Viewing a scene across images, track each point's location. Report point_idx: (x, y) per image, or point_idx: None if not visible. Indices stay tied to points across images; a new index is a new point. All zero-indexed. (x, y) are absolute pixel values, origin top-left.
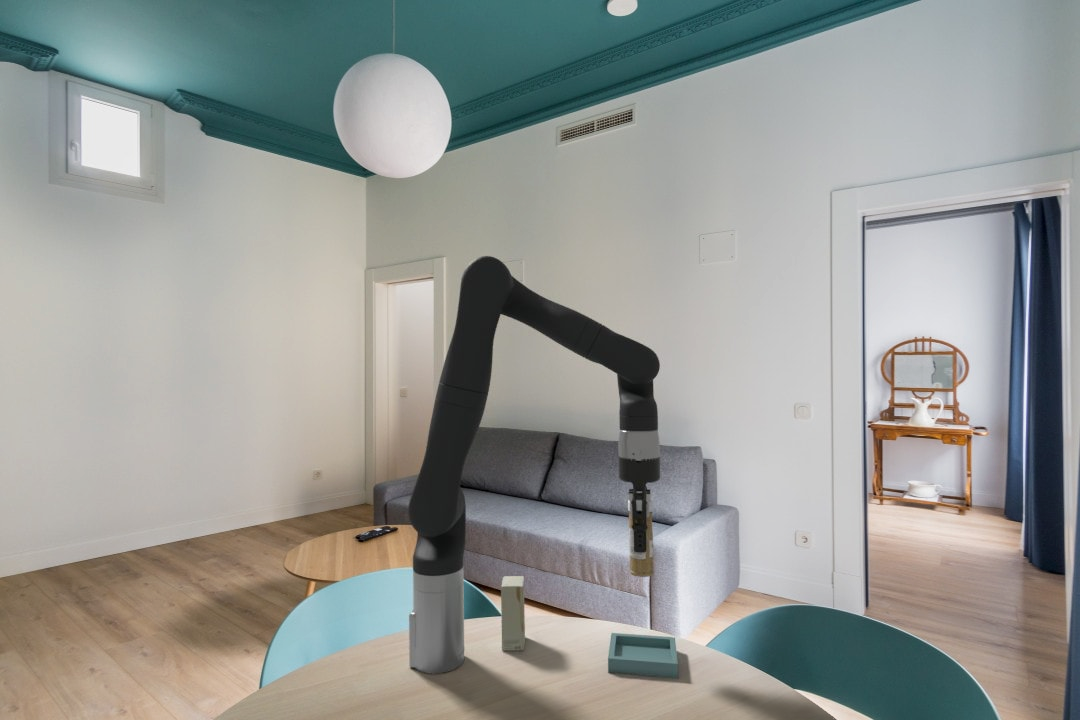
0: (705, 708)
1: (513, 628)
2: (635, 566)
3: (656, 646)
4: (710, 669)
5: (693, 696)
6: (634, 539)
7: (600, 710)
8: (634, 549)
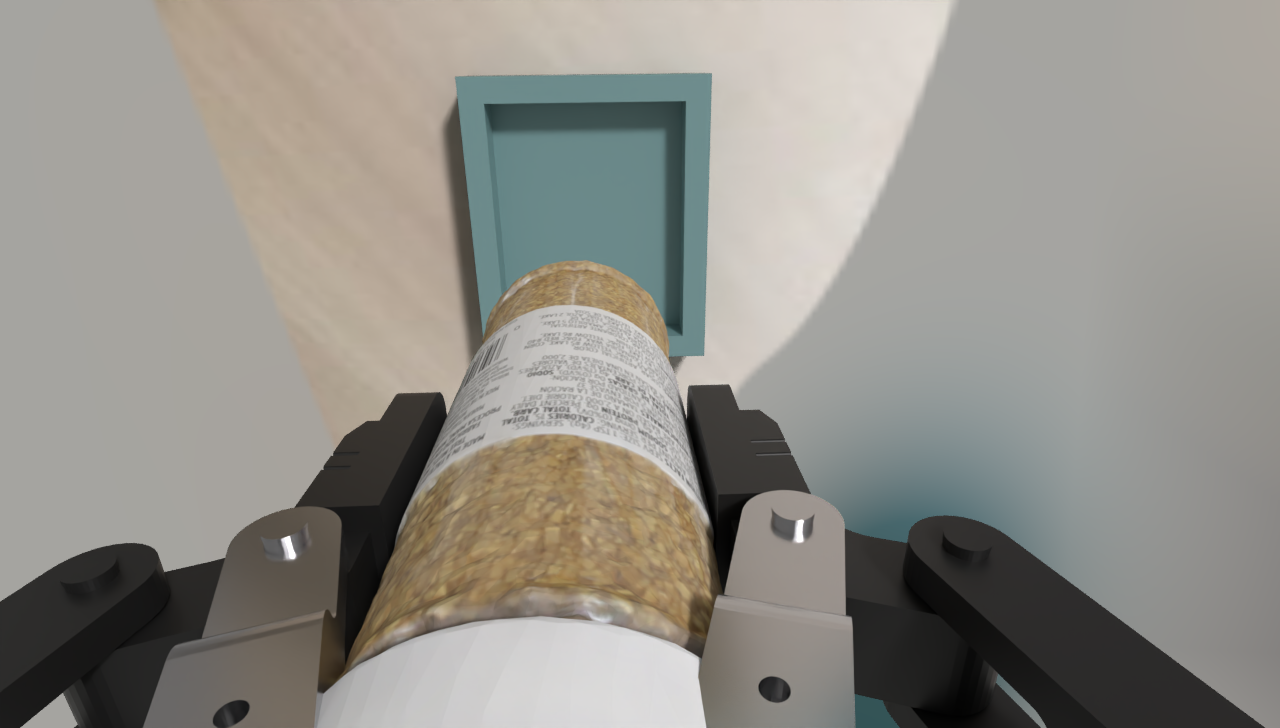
0: (337, 414)
1: None
2: (487, 334)
3: (678, 273)
4: None
5: (395, 384)
6: (359, 456)
7: (187, 67)
8: (395, 400)
